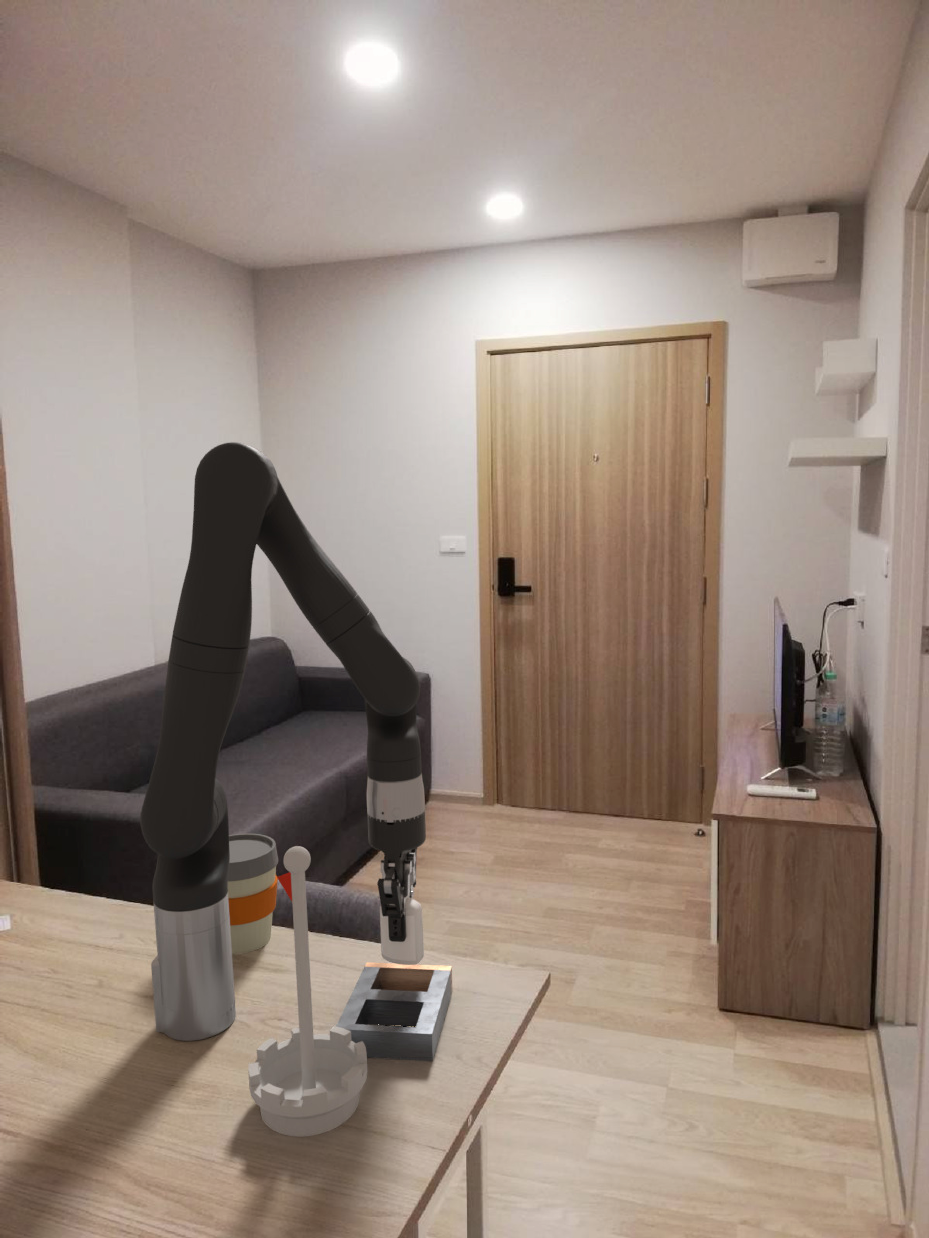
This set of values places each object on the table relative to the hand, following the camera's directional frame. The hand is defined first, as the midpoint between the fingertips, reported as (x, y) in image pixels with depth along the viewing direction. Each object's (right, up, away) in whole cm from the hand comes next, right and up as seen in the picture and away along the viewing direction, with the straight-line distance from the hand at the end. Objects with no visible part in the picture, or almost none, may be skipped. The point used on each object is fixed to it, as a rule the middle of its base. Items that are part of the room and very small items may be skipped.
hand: (401, 931), depth 118 cm
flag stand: (-9, -13, -18) cm, 24 cm away
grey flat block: (0, -11, -3) cm, 11 cm away
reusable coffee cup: (-26, -9, +21) cm, 34 cm away
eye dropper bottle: (0, -4, +1) cm, 4 cm away
